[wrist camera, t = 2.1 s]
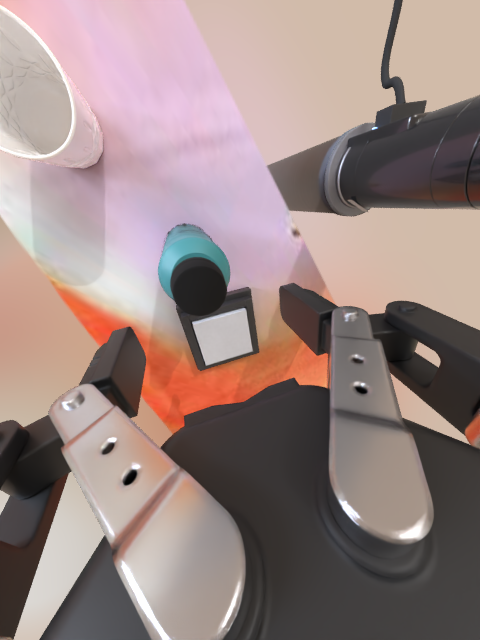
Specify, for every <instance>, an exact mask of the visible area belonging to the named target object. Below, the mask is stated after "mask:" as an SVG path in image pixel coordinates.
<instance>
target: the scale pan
mask: <svg viewBox="0 0 480 640" xmlns="http://www.w3.org/2000/svg"><path fill="white" fill-rule="evenodd" d="M192 324H193V327H194V330H195V333H196V337H197V340H198V343H199V346H200V349H201V352H202V355H203V358H204V361H205V364H206V366H207V365H210V364H213V363H217V362H220V361H223V360H226V359H229V358H233V357H236V356H239V355H242V354H245V353H249V352H252V351H253V350H252V343H251V337H250V331H249V325H248V318H247V312H246V309H245V308H244V307H242V308H238V309H234V310H231V311H227V312H224V313H220V314H216V315H213V316H209V317H205V318H202V319H198V320H194V321H192Z"/></svg>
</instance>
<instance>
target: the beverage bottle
mask: <svg viewBox="0 0 480 640" xmlns="http://www.w3.org/2000/svg"><path fill="white" fill-rule="evenodd" d="M203 231H204V230H201V228H198V226H197V227H196V226H193V225H191V224H189V223H188V224H183V225H177V227H176V226H175V228H174V229H172V230H171V231H170V232H168V236H167V239H166V242H165V240H164V242H165V245H164V246H163V247H164V249H163V251H162V256H161V258H160V262H159V267H158V275H159V280H160V283H161V286H162V288H163V289H164V291H165V292H166V293H167V295H168V296H169V297H171V298H172V299H173V300H174V301H175V303H176V304H177V306H178V307H179V308H180V309H181V310H183V311H184V312H186V313H188V314H190V315H194V316H205V315H209V314H211V313H213V312H215V311H216V310H218V309H219V308H220V307H221V305H222V304H223V303H224V301H225V298H226V294H227V286H228V283H229V280H230V266H229V263H228V260H227V258H226V256H225V254H224V253H223V251H222V250H221V249H220V248H219V247H218V246H217V245H216V244H215V243H214V242H213V241H212V240H211V238H210V236H209V235H206V234H205V233H206V232H205V233H204V232H203ZM208 236H209V237H208Z"/></svg>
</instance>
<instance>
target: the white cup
mask: <svg viewBox="0 0 480 640" xmlns="http://www.w3.org/2000/svg"><path fill="white" fill-rule="evenodd" d="M0 150H1V151H3V152H5V153H8V154H10V155H13V156H16V157H19V158H24V159H28V160H33V161H38V162H42V163H46V164H51V165H56V166H62V167H69V168H70V167H73V168H84V169H85V168H87V167H89V166H91V165H93V164H96V163H97V162H98V160H99V158H100V156H101V154H102V152H103V133H102V131H101V128H100V126H99V123H98V121H97V118H96V116H95V115H94V113H93V112H92V111H91V109H90V107H89V105H88V104H87V102H86V100H85V99H84V97H83V96H82V94H81V93H80V91H79V90H78V88H77V87H76V85H75V84H74V83H73V81H72V80H71V78H70V77H69V76H68V74H67V73H66V72H65V70H64V69H63V67H62V66H61V65H60V63H59V62H58V60H57V59H56V58H55V56H54V55H53V53H52V52H51V51H50V49H49V48H48V47H47V45H46V44H45V43H44V42H43V41H42V39H41V38H40V37H39V36H38V35H37V34H36V33H35V32H34V31H33V30H32V29H31V28H30V27H29V26H28V25H27V24H26V23H25V22H23V21H22V20H21V19H20V18H19V17H17V16H16V15H15V14H13V13H12V12H10V11H9V10H7V9H6V8H4V7H2V6H1V5H0Z"/></svg>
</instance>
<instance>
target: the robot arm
mask: <svg viewBox="0 0 480 640" xmlns="http://www.w3.org/2000/svg"><path fill="white" fill-rule="evenodd" d="M402 1H403V0H395V1H394V7H393V12H392V17H391V22H390V27H389V30H388V35H387V39H386V44H385V48H384V54H383V59H382V66H381V82H382V86H383V88H385V89H388V88H390V87H393V88H394V91H395V96H396V104H394V105H391V106H389V107H387V108H385V109H383V110H380V111H378V112H377V115H376V122H375V128H372V130H370V131H367V132H364V133H362V134H359V135H356V136H354V137H351V138H349V139H348V145H347V149H346V150H345V152H344V154H343V156H342V157H341V160H340V162H339V165H338V168H337V173H336V191H337V194H338V197H339V199H340V200H341V202H342V203H343V204H344V205H346V206H348V207H351V208H359V209H360V210H362V211H363V212H368V211H367V210H365V209H364V208H366V207H370V208H372V207H374V208H424V209H475V210H476V209H477V210H480V95H479V96H476V97H473V98H470V99H467V100H465V101H461V102H459V103H456V104H453V105H450V106H448V107H445V108H442V109H439V110H436V111H433V112H427V113H424V111H425V106H426V100H425V101H417V102H410V103H406V102H405V95H404V86H403V82H402V80H401V79H400V78H399V77H393V78H391V79H390V78H389V60H390V54H391V49H392V45H393V40H394V36H395V32H396V28H397V24H398V19H399V15H400V11H401V6H402ZM279 294H280V310H281V316H282V318H283V320H284V322H285V323H286V324H287V325H288V326H289V327H290V328H291V329H292V330H293V331H294V332H295V333H296V334H297V335H298V336H299V337H300V338H301V339H302V340H303V341H304V342H305V343H306V345H307V346H308V347H309V348H310V349H311V350H312V351H313V352H314V353H315V354H316V355H317V356H318V355H321V354H324V353H327V354H328V369H327V388H325V387H321V386H314V385H299V384H298V383H297V381H296V380H295V378H291V379H289V380H286V381H283V382H280V383H277V384H274V385H271V386H269V387H267V388H265V389H264V390H262V391H261V392H259V393H258V394H256V395H254V396H253V397H251V398H250V399H248V400H246V401H245V402H241V403H233V404H224V405H216V406H211V407H208V408H205V409H202V410H200V411H197V412H194V413H191V414H188V415H185V416H184V422H185V426H184V427H182V428H181V429H179V430H178V431H177V432H176V433H174V434H173V435H172V436H171V437H170V438H169V439H168V440H167V441H166V442H165V443H164V444H163V445H162V446H161V448H159V447H158V446H157V445H156V444H155V443H154V442H153V441H152V440H151V439H150V438H149V437H148V436H147V435H146V434H145V433H144V432H143V431H142V430H141V429H140V428H139V427H138V426H137V425H136V424H135V423H134V422H133V421H132V420H131V419H130V418H132V417H135V416H137V414H138V408H139V402H140V396H141V390H142V384H143V378H144V372H145V366H146V356H145V353H144V350H143V348H142V346H141V344H140V343H139V341H138V339H137V337H136V335H135V333H134V331H133V329H132V328H131V327H126V328H122V329H119V330H115V331H113V332H112V334H111V336H110V338H109V340H108V342H107V343H104V344H103V345H102V346H101V347H100V348H99V349H98V350H97V351H96V353H95V355H94V357H93V360H92V361H91V363H90V366H89V367H88V369H87V371H86V372H85V374H84V376H83V378H82V380H81V382H80V384H79V386H77V387H74V388H72V389H70V390H68V391H67V392H65V393H64V394H62V395H61V396H60V397H59V398H58V399H57V400H56V401H55V402H54V403H53V404H52V405H51V407H50V409H49V413H48V414H49V415H47V416H45V417H43V418H41V419H39V420H37V421H35V422H34V423H32V424H30V425H28V426H26V427H22V426H21V425H20V424H19V423H18V422H16V421H14V420H9V421H5V422H2V423H0V490H1V491H3V492H5V493H7V494H9V495H10V497H9V499H8V501H7V503H6V505H5V507H4V509H3V511H2V513H1V515H0V640H13V639H14V636H15V633H16V630H17V627H18V624H19V621H20V618H21V615H22V612H23V609H24V606H25V603H26V600H27V597H28V594H29V591H30V588H31V585H32V582H33V579H34V576H35V573H36V570H37V567H38V564H39V561H40V558H41V555H42V552H43V549H44V546H45V543H46V539H47V537H48V534H49V531H50V528H51V524H52V522H53V519H54V516H55V513H56V510H57V507H58V504H59V501H60V498H61V495H62V492H63V489H64V486H65V483H66V480H67V477H68V474H69V473H70V472H71V471H72V472H73V474H74V476H75V478H76V480H77V482H78V484H79V486H80V488H81V489H82V492H83V493H84V495H85V497H86V499H87V501H88V503H89V505H90V507H91V508H92V511H93V512H94V514H95V516H96V518H97V520H98V522H99V524H100V526H101V528H102V529H103V532H104V533H105V536H104V537H103V539H102V540H101V542H100V543H99V545H98V547H97V548H96V550H95V551H94V553H93V555H92V556H91V558H90V559H89V561H88V563H87V564H86V566H85V568H84V569H83V571H82V572H81V574H80V576H79V577H78V579H77V580H76V582H75V584H74V585H73V587H72V588H71V590H70V592H69V594H68V595H67V596H66V598H65V599H64V601H63V603H62V604H61V606H60V607H59V609H58V611H57V612H56V614H55V615H54V617H53V619H52V620H51V622H50V624H49V625H48V627H47V628H46V630H45V631H44V633H43V635H42V636H41V638H40V640H480V330H478V329H475V328H473V327H470V326H468V325H466V324H464V323H462V322H459V321H457V320H455V319H453V318H450V317H448V316H446V315H443V314H441V313H439V312H437V311H434V310H432V309H430V308H428V307H425V306H423V305H421V304H418V303H414V302H409V301H394V302H391V303H389V304H388V305H387V306H386V310H385V313H383V314H372V315H368V313H367V312H366V311H365V310H363V309H361V308H357V307H352V306H343V307H338V306H336V305H335V304H333V303H332V302H330V301H328V300H327V299H324V298H323V297H322V296H319V294H317V293H315V292H314V291H311V290H307V289H303V288H301V287H300V286H298V285H296V284H295V283H291V284H287V285H284V286H281V287H280V289H279ZM418 341H419V342H420V343H422V344H424V345H426V346H427V347H429V348H430V349H432V350H434V351H435V352H436V353H437V354H438V356H439V357H440V360H441V363H440V366H439V368H438V367H437V366H435V365H434V364H432V363H431V362H429V361H427V360H426V359H424V358H423V357H422V356H420V355H418V354H417V353H416V352H415V349H416V346H417V343H418ZM390 373H391V374H392V375H394V376H395V377H396V378H397V379H398V380H400V381H401V382H402V383H403V384H404V385H405V386H407V387H408V388H409V389H410V390H412V391H413V392H414V393H415V394H416V395H417V396H419V397H420V398H421V399H422V400H423V401H424V402H426V403H427V404H428V405H429V406H430V407H432V408H433V409H434V410H435V411H436V412H437V413H439V414H440V415H441V416H442V417H443V418H445V419H446V420H447V421H448V422H449V423H451V424H452V425H453V426H454V427H455V428H457V429H458V430H459V431H460V432H461V433H462V434H464V435H465V436H466V438H467V440H468V442H469V443H470V445H469V444H467V443H464V442H462V441H459V440H457V439H454V438H452V437H449V436H447V435H444V434H442V433H439V432H437V431H434V430H431V429H429V428H427V427H424V426H422V425H419V424H417V423H414V422H412V421H409V420H407V419H404V418H402V416H401V412H400V409H399V405H398V401H397V397H396V394H395V390H394V386H393V382H392V379H391V376H390Z"/></svg>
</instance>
